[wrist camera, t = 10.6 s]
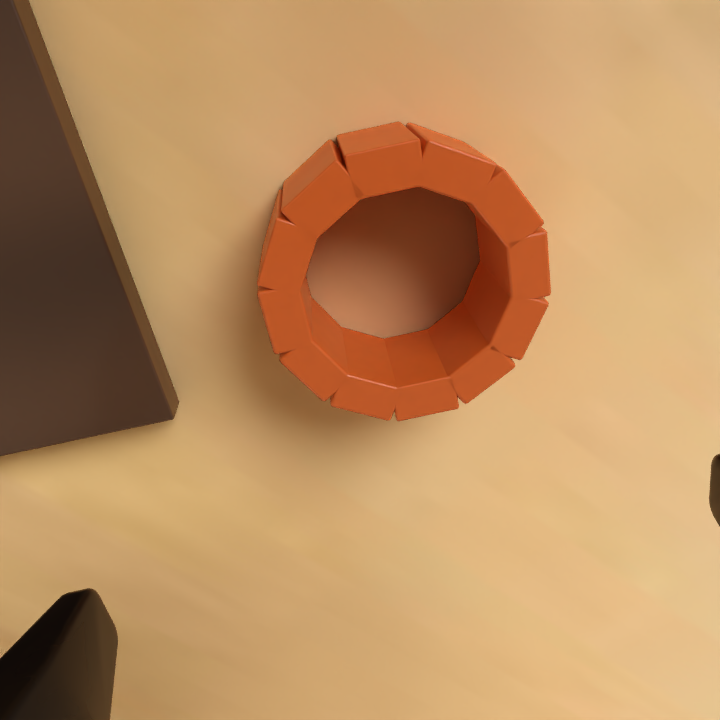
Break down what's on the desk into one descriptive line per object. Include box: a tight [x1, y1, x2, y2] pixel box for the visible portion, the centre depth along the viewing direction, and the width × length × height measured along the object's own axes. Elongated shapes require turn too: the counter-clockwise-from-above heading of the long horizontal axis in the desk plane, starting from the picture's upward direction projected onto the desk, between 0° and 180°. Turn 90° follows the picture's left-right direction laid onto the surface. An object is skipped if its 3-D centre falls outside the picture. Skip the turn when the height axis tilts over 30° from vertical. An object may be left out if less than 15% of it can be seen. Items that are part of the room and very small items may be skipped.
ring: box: [257, 122, 551, 421], centre depth 17 cm, size 7×7×3 cm
